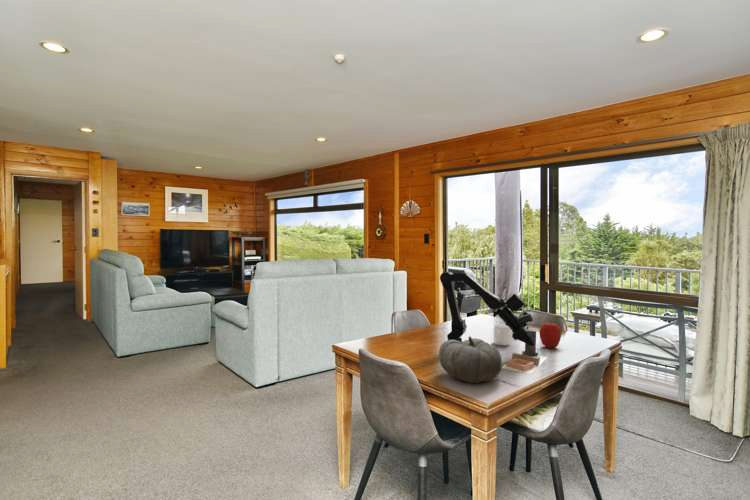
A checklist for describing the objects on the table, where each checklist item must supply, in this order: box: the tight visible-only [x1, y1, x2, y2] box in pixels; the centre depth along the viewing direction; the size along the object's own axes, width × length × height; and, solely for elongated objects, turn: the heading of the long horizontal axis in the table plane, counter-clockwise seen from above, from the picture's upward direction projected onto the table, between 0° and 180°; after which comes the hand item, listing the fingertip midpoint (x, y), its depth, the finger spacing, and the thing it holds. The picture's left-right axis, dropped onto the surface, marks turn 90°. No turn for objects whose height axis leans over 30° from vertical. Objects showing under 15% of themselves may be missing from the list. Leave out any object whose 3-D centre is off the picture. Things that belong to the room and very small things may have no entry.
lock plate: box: [501, 352, 548, 375], centre depth 174 cm, size 28×12×4 cm, turn 143°
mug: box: [493, 323, 512, 346], centre depth 204 cm, size 12×8×10 cm
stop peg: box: [524, 328, 537, 357], centre depth 179 cm, size 4×4×13 cm
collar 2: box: [520, 350, 541, 361], centre depth 180 cm, size 8×8×2 cm
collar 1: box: [506, 358, 534, 371], centre depth 168 cm, size 8×8×2 cm
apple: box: [539, 322, 562, 349], centre depth 201 cm, size 10×10×14 cm
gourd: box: [438, 336, 503, 384], centre depth 157 cm, size 25×25×17 cm
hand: (533, 344), depth 179 cm, fingers closed on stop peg, 4 cm apart
